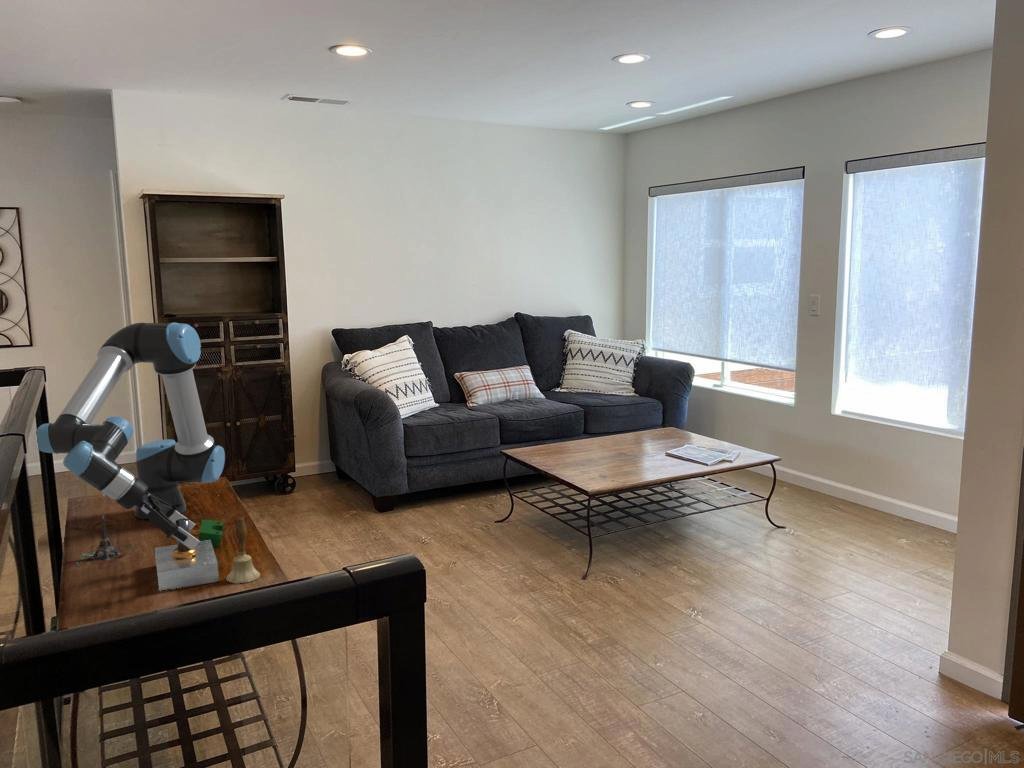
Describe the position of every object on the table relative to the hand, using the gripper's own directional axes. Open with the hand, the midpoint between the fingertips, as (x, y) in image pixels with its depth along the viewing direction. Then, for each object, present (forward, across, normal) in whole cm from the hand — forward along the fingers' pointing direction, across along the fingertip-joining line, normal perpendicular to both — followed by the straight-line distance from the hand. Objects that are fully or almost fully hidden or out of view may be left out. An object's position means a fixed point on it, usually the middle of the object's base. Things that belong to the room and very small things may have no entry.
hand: (193, 536), depth 204 cm
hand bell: (+15, +9, 0) cm, 17 cm away
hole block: (+5, 0, -8) cm, 10 cm away
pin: (+5, 0, -8) cm, 10 cm away
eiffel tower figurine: (-8, -23, -22) cm, 33 cm away
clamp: (+11, -19, -3) cm, 22 cm away
